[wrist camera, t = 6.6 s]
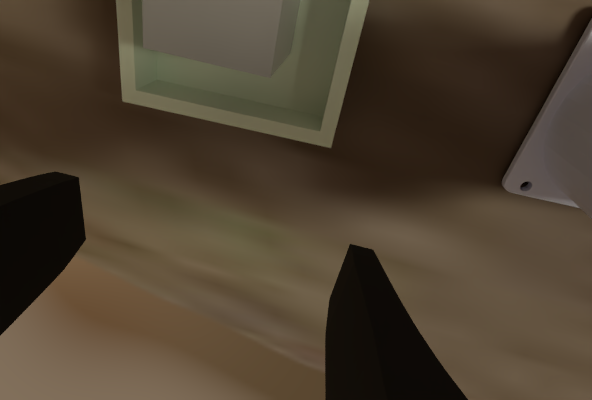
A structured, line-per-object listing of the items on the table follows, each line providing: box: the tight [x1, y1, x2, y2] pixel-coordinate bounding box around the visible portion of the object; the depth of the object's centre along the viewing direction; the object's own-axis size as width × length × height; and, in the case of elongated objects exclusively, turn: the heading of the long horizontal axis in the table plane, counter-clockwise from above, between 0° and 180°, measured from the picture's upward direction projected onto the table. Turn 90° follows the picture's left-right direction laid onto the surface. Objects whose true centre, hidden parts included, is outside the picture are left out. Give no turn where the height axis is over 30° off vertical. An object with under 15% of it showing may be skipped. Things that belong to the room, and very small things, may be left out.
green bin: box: [116, 0, 369, 148], centre depth 14 cm, size 9×9×2 cm
